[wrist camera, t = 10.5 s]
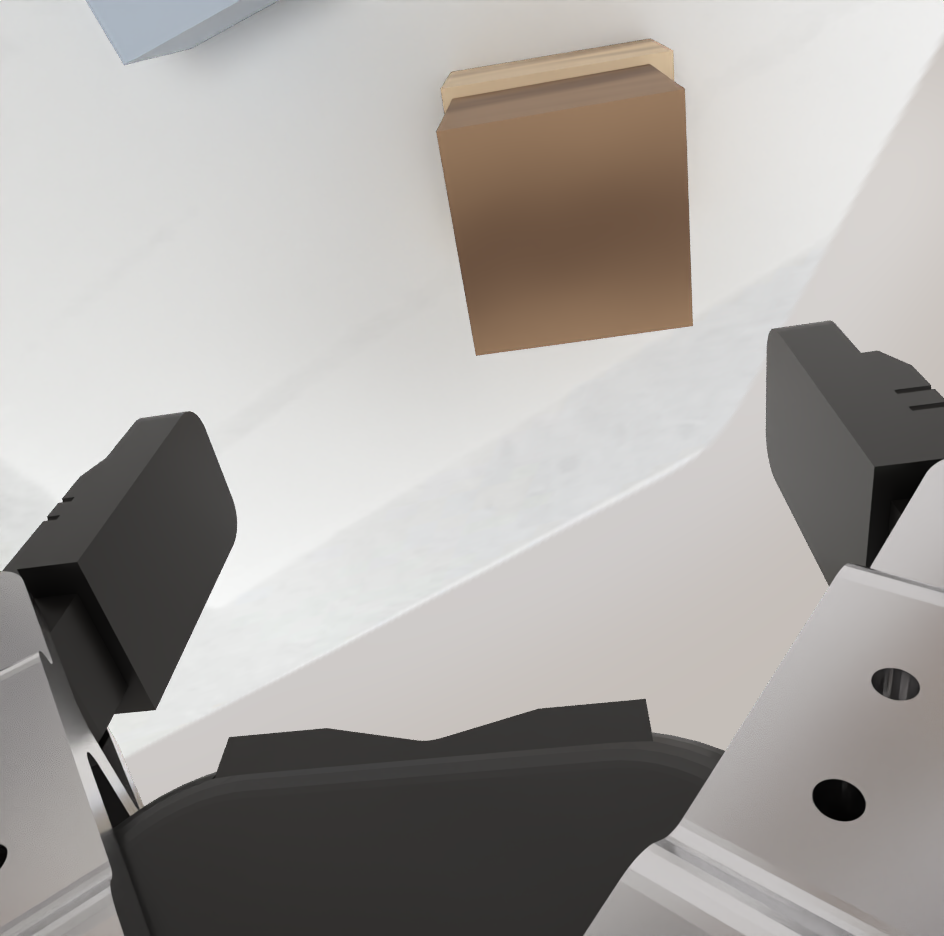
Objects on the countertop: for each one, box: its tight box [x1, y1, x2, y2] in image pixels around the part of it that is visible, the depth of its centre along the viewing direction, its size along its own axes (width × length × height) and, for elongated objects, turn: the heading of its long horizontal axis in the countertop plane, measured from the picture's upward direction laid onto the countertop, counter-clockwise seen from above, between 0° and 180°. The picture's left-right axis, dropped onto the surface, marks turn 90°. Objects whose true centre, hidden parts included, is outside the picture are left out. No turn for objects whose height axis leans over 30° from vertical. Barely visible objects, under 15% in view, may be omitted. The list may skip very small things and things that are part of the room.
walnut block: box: [436, 64, 693, 356], centre depth 24 cm, size 6×6×6 cm
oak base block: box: [441, 39, 674, 113], centre depth 29 cm, size 7×7×5 cm
